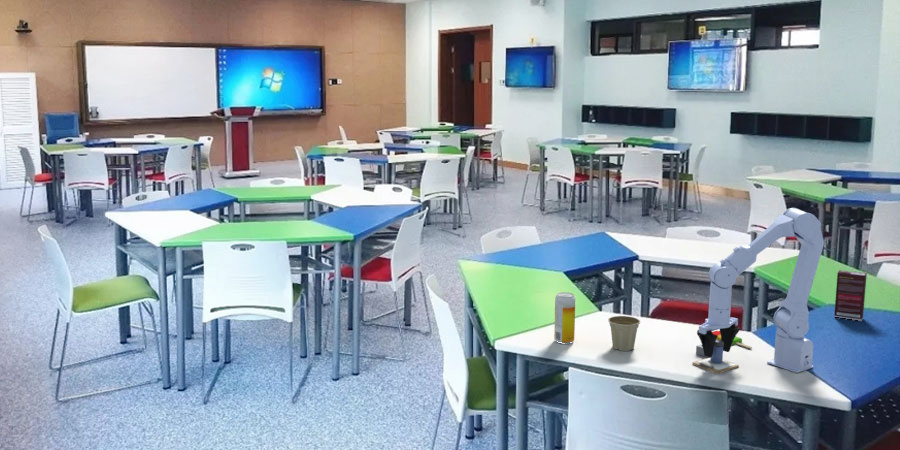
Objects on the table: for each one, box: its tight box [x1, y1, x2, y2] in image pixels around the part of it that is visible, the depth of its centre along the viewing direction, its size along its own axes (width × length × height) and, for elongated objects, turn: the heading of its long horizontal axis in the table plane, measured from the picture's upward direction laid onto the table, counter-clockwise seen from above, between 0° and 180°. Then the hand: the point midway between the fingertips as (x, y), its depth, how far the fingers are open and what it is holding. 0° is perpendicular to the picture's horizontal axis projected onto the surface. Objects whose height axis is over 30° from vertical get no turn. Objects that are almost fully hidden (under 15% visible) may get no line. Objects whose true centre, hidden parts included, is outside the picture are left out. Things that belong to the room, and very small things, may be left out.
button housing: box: [695, 343, 709, 358], centre depth 225 cm, size 4×4×2 cm
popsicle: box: [712, 330, 753, 350], centre depth 236 cm, size 6×15×2 cm, turn 30°
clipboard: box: [691, 357, 740, 374], centre depth 216 cm, size 9×9×1 cm
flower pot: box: [607, 315, 641, 352], centre depth 231 cm, size 9×9×9 cm
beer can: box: [553, 291, 576, 343], centre depth 236 cm, size 6×6×15 cm
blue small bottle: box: [710, 340, 724, 364], centre depth 216 cm, size 3×3×6 cm
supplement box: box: [833, 269, 868, 322], centre depth 258 cm, size 9×5×16 cm, turn 58°
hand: (716, 353), depth 217 cm, fingers open, 7 cm apart
